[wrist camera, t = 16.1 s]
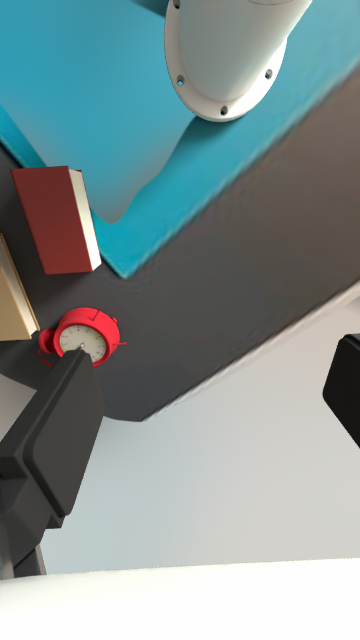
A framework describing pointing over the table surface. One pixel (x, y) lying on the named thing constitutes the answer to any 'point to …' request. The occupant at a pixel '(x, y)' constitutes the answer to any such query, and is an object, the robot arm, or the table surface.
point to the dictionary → (58, 218)
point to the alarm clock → (82, 335)
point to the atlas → (13, 301)
